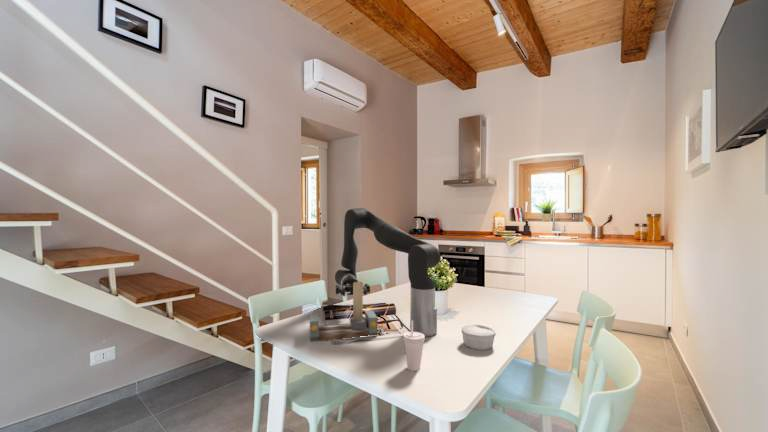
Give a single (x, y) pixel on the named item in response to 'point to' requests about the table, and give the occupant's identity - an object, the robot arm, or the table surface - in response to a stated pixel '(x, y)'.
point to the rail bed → (340, 332)
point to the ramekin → (478, 337)
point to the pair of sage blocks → (369, 318)
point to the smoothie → (413, 348)
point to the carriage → (357, 307)
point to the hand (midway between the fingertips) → (354, 293)
